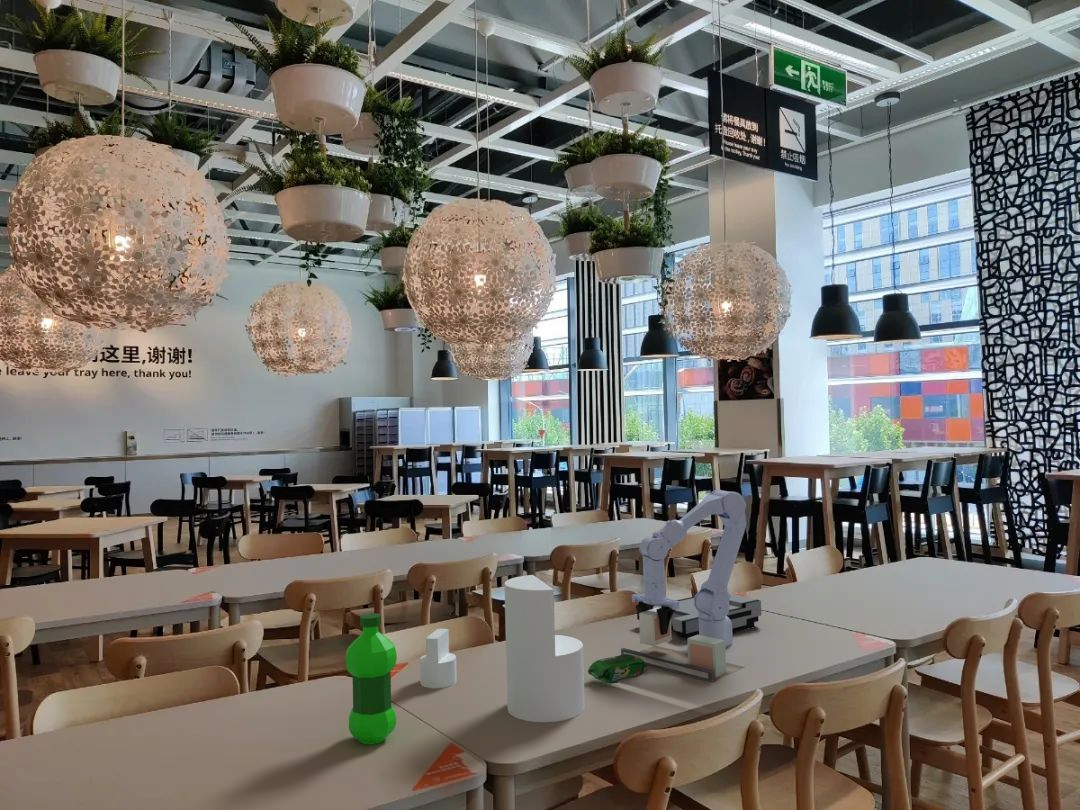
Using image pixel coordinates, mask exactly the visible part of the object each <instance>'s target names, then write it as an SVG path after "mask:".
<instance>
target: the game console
mask: <svg viewBox="0 0 1080 810" xmlns="http://www.w3.org/2000/svg"><path fill="white" fill-rule="evenodd" d="M698 592H699V591H696V592H695V595H696V594H697V593H698ZM695 595H694V596H691V597H685V598H680V599H675V601H679V609H676V610H675V611H674V613H673V615H672V617H671V632H672V631H675V635H678V636H683V637H684V638H690V637H693V636H695V635H699V615H698V610H697V609H696V608H695V605H694V597H695ZM729 606H730V609H729V612H728V614H727V617H728V618H729V619H730V621H731V623H732V634H734V633H738V632H741V630H742V631H745V629H746V630H749V628H750V629H753V628H752V627H754V628H755V623H757V622H760V621H759V617H761V616H762V600H761V599H756V598H751V597H746V596H742V595H738V594H733V593H730V599H729ZM654 608H662V607H661V606H656V605H654V606H653V609H654ZM636 614H637V615H636V618H637V620H638V621H639V613H638V611H637V610H636ZM733 632H734V633H733Z"/></svg>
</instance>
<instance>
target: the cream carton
mask: <svg viewBox="0 0 1080 810" xmlns="http://www.w3.org/2000/svg"><path fill="white" fill-rule="evenodd" d="M656 609H659V608H654V609H651V610H648V611H644V612H641V613H639V620H638V621H639V643H640V644H643V645H647V646H651V647H654V646H659V645H661V644H664V643H666V642H669V641H671V640H672V631H671V620H670V623H669V627H668V632H667V634H664V635H661V633H660V622H659V617H658V613H657V610H656Z"/></svg>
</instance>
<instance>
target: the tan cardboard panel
mask: <svg viewBox="0 0 1080 810" xmlns="http://www.w3.org/2000/svg"><path fill="white" fill-rule="evenodd" d="M623 654H629V655H633V656H637V657H639V658H641V659H642V660H643V661H644V663H645V666H648V667H652V668H657V669H660V670H663V671H668V672H672V673H675V674H678V675H679V674H680V675H683V676H687V677H689V678H693V679H699V680H702V681H706V682H710V683H713V682H715V681H718V680H720V679H722V678H724V677H727V676H729V675H731V674H734V673H736V672H737V671H740V670H742V669H744V668H745V666H742V665H738V664H735V663H729V662H726V673H725V674H723V675H721V676H719V677H716V678H715V677H714V670H710V669H706V668H702V667H698V666H694V665H690V664H688V652H683V651H679V650H675V649H671V648H667V647H662V646H659V645H656V646H651V647H649V648H646V649H642V650H640V651H637V650H634V649H630V648H625V647H622V648H620V655H623Z"/></svg>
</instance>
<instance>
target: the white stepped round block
mask: <svg viewBox="0 0 1080 810" xmlns="http://www.w3.org/2000/svg"><path fill="white" fill-rule="evenodd" d="M504 617H505V660H506V663H505V664H506V698H507V699H506V701H507V704H506V705H507V713H509V714H510V715H511V716H512V717H514V718H515V719H518V720H521V721H525V722H533V723H555V722H563V721H567V720H570V719H573V718H575V717H577V716H580V715H581V714H582V713H583V712H584V710H585V679H584V676H585V675H584V674H585V673H584V672H585V671H584V644H583V642H582V641H581V640H579V639H578V638H575V637H572V636H567V635H561V634H556V630H555V629H556V627H555V626H556V625H555V590H554V589H553V588H552V587H551V586H549V585H548V584H547V583H545V582H544V581H543V580H541V579H540V578H538V577H537V576H535V575H534V574H529V575H521V576H520V575H519V576H516V577H512V578H509V579H507V580H506V581H504Z"/></svg>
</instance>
